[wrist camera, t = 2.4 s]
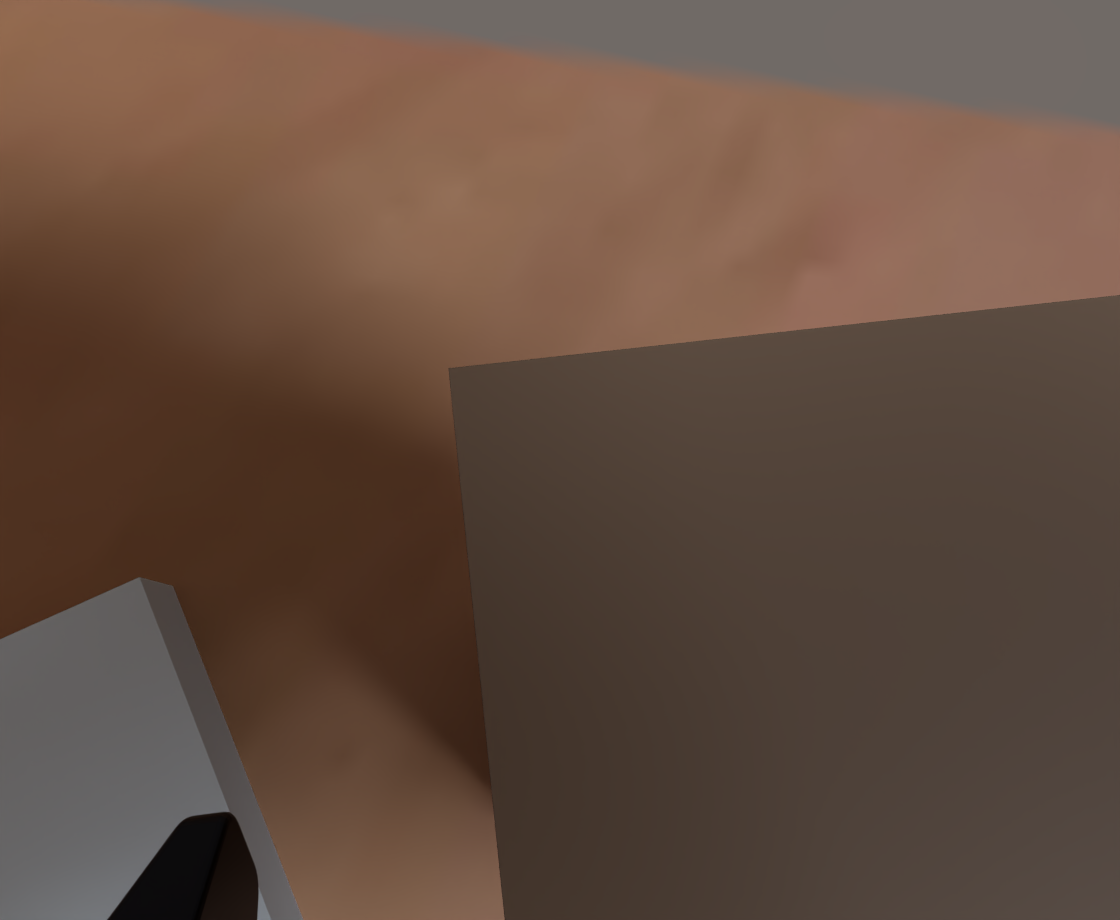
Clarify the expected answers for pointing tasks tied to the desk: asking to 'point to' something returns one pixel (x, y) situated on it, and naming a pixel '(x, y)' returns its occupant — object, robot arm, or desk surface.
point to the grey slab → (113, 757)
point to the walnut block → (804, 620)
